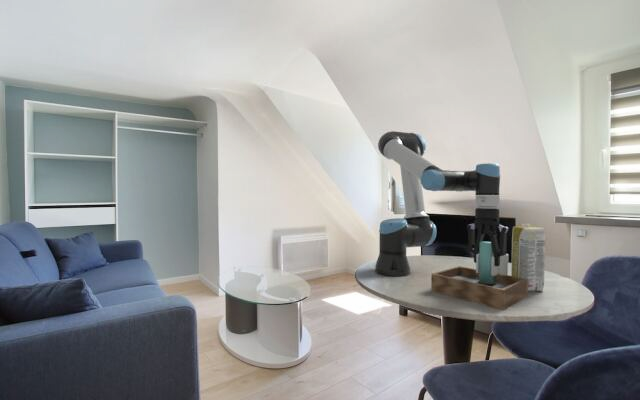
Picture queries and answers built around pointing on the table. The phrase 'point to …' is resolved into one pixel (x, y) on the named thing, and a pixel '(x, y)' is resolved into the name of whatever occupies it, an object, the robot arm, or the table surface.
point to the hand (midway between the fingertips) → (486, 273)
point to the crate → (480, 287)
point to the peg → (485, 262)
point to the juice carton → (529, 255)
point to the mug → (503, 265)
